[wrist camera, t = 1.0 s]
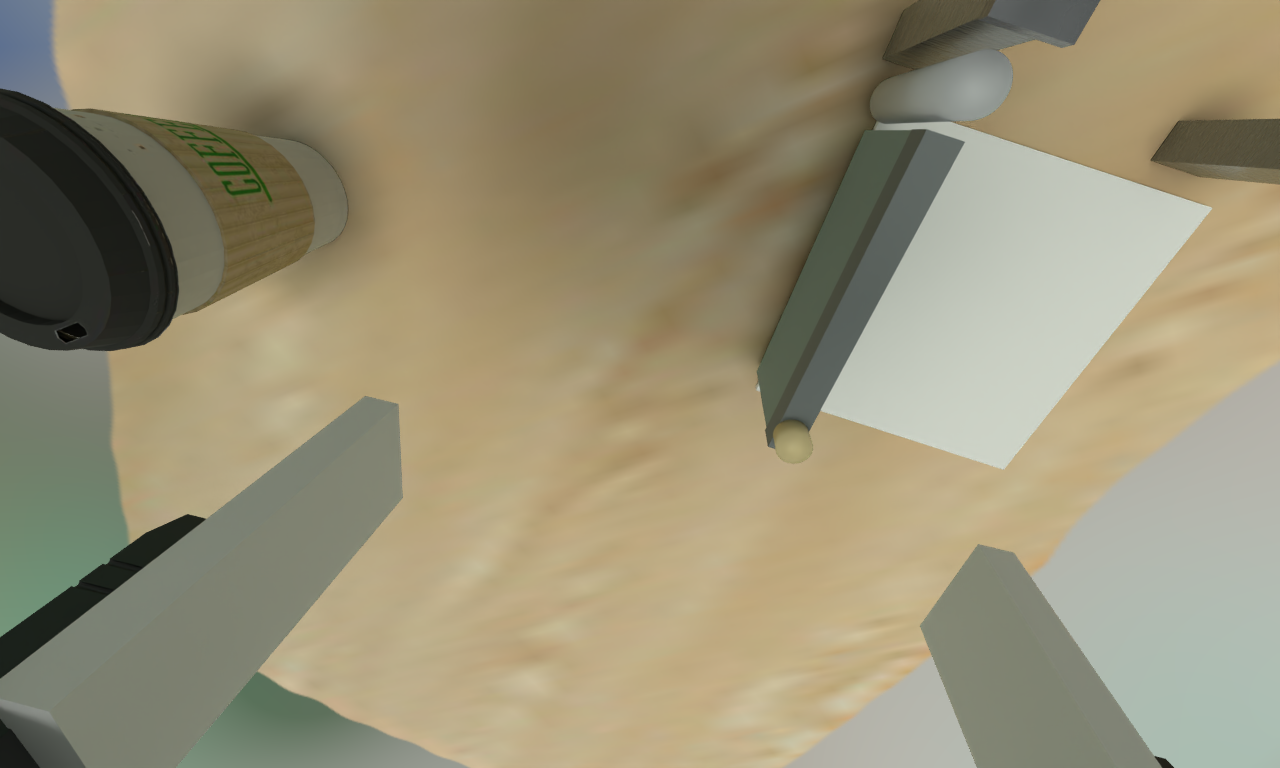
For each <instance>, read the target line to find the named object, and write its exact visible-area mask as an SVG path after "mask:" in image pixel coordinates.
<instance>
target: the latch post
mask: <svg viewBox="0 0 1280 768" xmlns="http://www.w3.org/2000/svg"><path fill="white" fill-rule="evenodd" d="M1151 161H1153V162H1157V163H1160V164H1163V165H1166V166H1169V167H1172V168H1175V169H1178V170H1181V171H1184V172H1187V173H1190V174H1193V175H1196V176H1199V177H1206V178H1217V179H1227V180H1238V181H1248V182H1259V183H1269V184H1280V119H1248V120H1201V121H1179V122H1178V123H1177V124H1176V126H1175V127H1174V129H1173V130H1172V131H1171V133H1170V134H1169V136H1168V137H1167V138H1166V140H1165V141H1164V143H1163V144H1162V146H1161V147H1160V148H1159V150H1158V151H1157V153H1156V154H1155V155H1154V157H1153V158H1152V160H1151Z"/></svg>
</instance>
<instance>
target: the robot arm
mask: <svg viewBox="0 0 1280 768" xmlns="http://www.w3.org/2000/svg"><path fill="white" fill-rule="evenodd" d="M402 498H403V494H402V472H401V450H400V428H399V406H398V404H396V403H392V402H388V401H384V400H380V399H376V398H372V397H367V396H365V397H363V398H362V399H361V400H360V401H358V402H357V403H356V404H354V405H353V406H352V407H351V408H349V409H348V410H347V411H345V412H344V413H343V414H342V415H340V416H339V417H338V418H336V419H335V420H334V421H332V422H331V423H330V424H329V425H327V426H326V427H325V428H323V429H322V430H321V431H320V432H318V433H317V434H316V435H314V436H313V437H312V438H311V439H309V440H308V441H307V442H305V443H304V444H303V445H302V446H300V447H299V448H298V449H296V450H295V451H294V452H292V453H291V454H290V455H289V456H287V457H286V458H285V459H283V460H282V461H281V462H280V463H278V464H277V465H276V466H274V467H273V468H272V469H271V470H269V471H268V472H267V473H265V474H264V475H263V476H261V477H260V478H259V479H258V480H256V481H255V482H254V483H252V484H251V485H250V486H249V487H247V488H246V489H245V490H243V491H242V492H241V493H240V494H238V495H237V496H236V497H234V498H233V499H232V500H231V501H229V502H228V503H227V504H225V505H224V506H223V507H221V508H220V509H219V510H218V511H216V512H215V513H214V514H212V515H211V516H210V517H209V518H207V519H205V518H201V517H197V516H193V515H189V514H187V515H185V516H182V517H180V518H178V519H176V520H173V521H171V522H169V523H167V524H165V525H162V526H160V527H158V528H156V529H153V530H151V531H149V532H147V533H145V534H144V535H142V536H141V537H140V538H138V539H137V540H135V541H134V542H133V543H131V544H130V545H128V546H127V547H126V548H124V549H123V550H121V551H120V552H119V553H117V554H116V555H114V556H113V557H112V558H110V561H109V563H108V564H106V565H105V564H102V565H100V566H99V567H98V568H96V569H95V570H93V571H92V572H91V573H90V574H88V575H87V576H85V577H84V578H82V579H81V580H80V581H79V584H78V585H77V586H75V587H72V586H71V587H70V588H68V589H67V590H66V591H64V592H63V593H61V594H60V595H59V596H58V597H56V598H54V599H53V600H52V601H50V602H49V603H47V604H46V605H45V606H43V607H42V608H41V609H39V610H38V611H36V612H35V613H33V614H32V615H31V616H29V617H28V618H27V619H25V620H24V621H22V622H21V623H20V624H18V625H17V626H15V627H14V628H13V629H11V630H10V631H9V632H7V633H6V634H4V635H3V636H1V637H0V768H176V766H177V765H178V764H179V763H180V762H181V761H182V760H183V758H184V757H185V756H186V755H187V754H188V752H189V751H190V750H191V749H192V748H193V747H194V745H195V744H196V743H197V742H198V741H199V739H200V738H201V737H202V736H203V735H204V733H205V732H206V731H207V730H208V729H209V728H210V726H211V725H212V724H213V723H214V721H215V720H216V719H217V718H218V717H219V716H220V714H221V713H222V712H223V711H224V710H225V708H226V707H227V706H228V705H229V703H230V702H231V701H232V700H233V699H234V698H235V697H236V695H237V694H238V693H239V692H240V691H241V689H242V688H243V687H244V686H245V685H246V684H247V682H248V681H249V680H250V679H251V677H252V676H253V675H254V674H255V673H256V672H257V670H258V669H259V668H260V667H261V666H262V664H263V663H264V662H265V661H266V660H267V659H268V657H269V656H270V655H271V654H272V653H273V651H274V650H275V649H276V648H277V647H278V645H279V644H280V643H281V642H282V641H283V639H284V638H285V637H286V636H287V635H288V634H289V632H290V631H291V630H292V629H293V628H294V626H295V625H296V624H297V623H298V622H299V620H300V619H301V618H302V617H303V616H304V615H305V613H306V612H307V611H308V610H309V609H310V607H311V606H312V605H313V604H314V603H315V601H316V600H317V599H318V598H319V597H320V595H321V594H322V593H323V592H324V591H325V590H326V588H327V587H328V586H329V585H330V584H331V582H332V581H333V580H334V579H335V578H336V576H337V575H338V574H339V573H340V572H341V571H342V569H343V568H344V567H345V566H346V565H347V563H348V562H349V561H350V560H351V559H352V557H353V556H354V555H355V554H356V553H357V551H358V550H359V549H360V548H361V547H362V546H363V544H364V543H365V542H366V541H367V540H368V538H369V537H370V536H371V535H372V534H373V532H374V531H375V530H376V529H377V528H378V527H379V525H380V524H381V523H382V522H383V521H384V519H385V518H386V517H387V516H388V515H389V513H390V512H391V511H392V510H393V509H394V507H395V506H396V505H397V504H398V503H399V502H400V500H401V499H402ZM920 627H921V630H922V632H923V635H924V637H925V640H926V642H927V645H928V647H929V650H930V652H931V655H932V657H933V660H934V662H935V665H936V667H937V669H938V672H939V674H940V677H941V679H942V682H943V684H944V687H945V689H946V692H947V694H948V697H949V699H950V702H951V704H952V707H953V709H954V712H955V714H956V717H957V719H958V722H959V724H960V727H961V729H962V732H963V734H964V737H965V739H966V742H967V744H968V746H969V749H970V752H971V754H972V756H973V759H974V761H975V764H976V766H977V768H1174V767H1173V766H1172V765H1171V764H1170V763H1169V762H1168V761H1167V760H1166V759H1164V758H1160V757H1156V756H1154V755H1153V754H1152V752H1151V751H1150V750H1149V748H1148V747H1147V745H1146V744H1145V742H1144V741H1143V740H1142V738H1141V736H1140V735H1139V734H1138V732H1137V731H1136V729H1135V728H1134V726H1133V725H1132V724H1131V722H1130V721H1129V719H1128V718H1127V716H1126V715H1125V713H1124V712H1123V711H1122V709H1121V707H1120V706H1119V705H1118V703H1117V702H1116V700H1115V699H1114V697H1113V696H1112V694H1111V693H1110V691H1109V690H1108V689H1107V687H1106V686H1105V684H1104V683H1103V681H1102V680H1101V679H1100V677H1099V676H1098V674H1097V673H1096V671H1095V670H1094V668H1093V667H1092V666H1091V664H1090V663H1089V661H1088V660H1087V658H1086V657H1085V655H1084V654H1083V653H1082V651H1081V650H1080V648H1079V647H1078V645H1077V644H1076V642H1075V641H1074V639H1073V638H1072V637H1071V635H1070V634H1069V632H1068V631H1067V629H1066V628H1065V626H1064V625H1063V623H1062V622H1061V621H1060V619H1059V617H1058V616H1057V615H1056V613H1055V612H1054V610H1053V609H1052V607H1051V606H1050V605H1049V603H1048V602H1047V600H1046V599H1045V597H1044V596H1043V594H1042V593H1041V591H1040V590H1039V589H1038V587H1037V586H1036V584H1035V583H1034V581H1033V580H1032V578H1031V577H1030V575H1029V574H1028V573H1027V571H1026V570H1025V568H1024V567H1023V565H1022V564H1021V562H1020V561H1019V559H1018V558H1017V557H1016V555H1015V554H1014V553H1013V552H1009V551H1004V550H1000V549H996V548H992V547H988V546H984V545H980V544H978V545H977V547H976V548H975V549H974V551H973V552H972V554H971V555H970V556H969V558H968V559H967V561H966V562H965V563H964V565H963V566H962V568H961V569H960V570H959V572H958V573H957V575H956V576H955V577H954V579H953V580H952V582H951V583H950V584H949V586H948V587H947V589H946V590H945V591H944V593H943V594H942V596H941V597H940V598H939V600H938V601H937V603H936V604H935V605H934V607H933V608H932V610H931V611H930V612H929V614H928V615H927V617H926V618H925V619H924V621H923V622H922V624H921V625H920Z"/></svg>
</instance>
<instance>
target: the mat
mask: <svg viewBox="0 0 1280 768" xmlns="http://www.w3.org/2000/svg"><path fill="white" fill-rule="evenodd" d="M912 129H928V130H931V131H934V132H937V133H940V134H943V135H946V136H949V137H952V138H955V139H958V140H961V141H964V142H965V143H964V145H963V147H962V149H961V150H960V152H959V154H958V156H957V158H956V160H955V162H954V163H953V165H952V167H951V169H950V171H949V173H948V174H947V176H946V178H945V180H944V182H943V184H942V186H941V187H940V189H939V191H938V193H937V195H936V197H935V199H934V200H933V202H932V204H931V206H930V208H929V210H928V212H927V213H926V215H925V217H924V219H923V221H922V223H921V225H920V226H919V228H918V230H917V232H916V234H915V236H914V238H913V239H912V241H911V243H910V245H909V247H908V249H907V251H906V252H905V254H904V256H903V258H902V260H901V262H900V264H899V265H898V267H897V269H896V271H895V273H894V275H893V277H892V278H891V280H890V282H889V284H888V286H887V288H886V290H885V291H884V293H883V295H882V297H881V299H880V301H879V302H878V304H877V306H876V308H875V310H874V312H873V314H872V315H871V317H870V319H869V321H868V323H867V325H866V327H865V328H864V330H863V332H862V334H861V336H860V338H859V340H858V341H857V343H856V345H855V347H854V349H853V351H852V353H851V354H850V356H849V358H848V360H847V362H846V364H845V366H844V367H843V369H842V371H841V373H840V375H839V377H838V379H837V380H836V382H835V384H834V386H833V388H832V390H831V392H830V393H829V395H828V397H827V399H826V401H825V403H824V405H823V406H822V408H821V410H820V411H822V412H826V413H829V414H832V415H835V416H838V417H841V418H844V419H847V420H851V421H854V422H857V423H860V424H863V425H866V426H869V427H872V428H875V429H879V430H882V431H885V432H888V433H891V434H894V435H897V436H900V437H903V438H907V439H910V440H913V441H916V442H919V443H922V444H925V445H928V446H932V447H935V448H938V449H941V450H944V451H947V452H950V453H953V454H956V455H960V456H963V457H966V458H969V459H972V460H975V461H978V462H981V463H985V464H988V465H991V466H994V467H997V468H1000V469H1003V470H1004V469H1005V467H1006V466H1007V465H1008V464H1009V462H1010V461H1011V460H1012V459H1013V457H1014V456H1015V455H1016V454H1017V452H1018V451H1019V450H1020V449H1021V447H1022V446H1023V445H1024V444H1025V442H1026V441H1027V440H1028V439H1029V437H1030V436H1031V435H1032V434H1033V432H1034V431H1035V430H1036V429H1037V427H1038V426H1039V425H1040V424H1041V422H1042V421H1043V420H1044V418H1045V417H1046V416H1047V415H1048V413H1049V412H1050V411H1051V410H1052V408H1053V407H1054V406H1055V405H1056V403H1057V402H1058V401H1059V400H1060V398H1061V397H1062V396H1063V395H1064V393H1065V392H1066V391H1067V390H1068V388H1069V387H1070V386H1071V385H1072V383H1073V382H1074V381H1075V380H1076V378H1077V377H1078V376H1079V375H1080V373H1081V372H1082V371H1083V370H1084V368H1085V367H1086V366H1087V365H1088V363H1089V362H1090V361H1091V360H1092V358H1093V357H1094V356H1095V355H1096V353H1097V352H1098V351H1099V350H1100V348H1101V347H1102V346H1103V345H1104V343H1105V342H1106V341H1107V340H1108V338H1109V337H1110V336H1111V335H1112V333H1113V332H1114V331H1115V330H1116V328H1117V327H1118V326H1119V325H1120V323H1121V322H1122V321H1123V320H1124V318H1125V317H1126V316H1127V315H1128V313H1129V312H1130V311H1131V309H1132V308H1133V307H1134V306H1135V304H1136V303H1137V302H1138V301H1139V299H1140V298H1141V297H1142V296H1143V294H1144V293H1145V292H1146V291H1147V289H1148V288H1149V287H1150V286H1151V284H1152V283H1153V282H1154V281H1155V279H1156V278H1157V277H1158V276H1159V274H1160V273H1161V272H1162V271H1163V269H1164V268H1165V267H1166V266H1167V264H1168V263H1169V262H1170V261H1171V259H1172V258H1173V257H1174V256H1175V254H1176V253H1177V252H1178V251H1179V249H1180V248H1181V247H1182V246H1183V244H1184V243H1185V242H1186V241H1187V239H1188V238H1189V237H1190V236H1191V234H1192V233H1193V232H1194V231H1195V229H1196V228H1197V227H1198V226H1199V224H1200V223H1201V222H1202V221H1203V219H1204V218H1205V217H1206V216H1207V214H1208V213H1209V212H1210V211H1211V209H1212V208H1211V207H1208V206H1205V205H1202V204H1199V203H1196V202H1193V201H1190V200H1187V199H1184V198H1181V197H1178V196H1174V195H1171V194H1168V193H1165V192H1162V191H1159V190H1156V189H1153V188H1150V187H1147V186H1144V185H1141V184H1138V183H1135V182H1132V181H1129V180H1126V179H1123V178H1120V177H1117V176H1114V175H1111V174H1108V173H1105V172H1101V171H1098V170H1095V169H1092V168H1089V167H1086V166H1083V165H1080V164H1077V163H1074V162H1071V161H1068V160H1065V159H1062V158H1059V157H1056V156H1053V155H1050V154H1047V153H1044V152H1041V151H1038V150H1035V149H1032V148H1028V147H1025V146H1022V145H1019V144H1016V143H1013V142H1010V141H1007V140H1004V139H1001V138H998V137H995V136H992V135H989V134H986V133H983V132H980V131H977V130H974V129H971V128H968V127H965V126H962V125H959V124H955V123H952V122H926V123H900V124H883V123H880V122H878V121H877V122H876V124H875V126H874V128H873V130H912ZM756 390H757V391H760V387H759V381H758V383H757V386H756Z"/></svg>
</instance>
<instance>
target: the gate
mask: <svg viewBox="0 0 1280 768" xmlns="http://www.w3.org/2000/svg"><path fill="white" fill-rule="evenodd" d="M1012 80H1013V70H1012V66H1011V63H1010V61H1009V59H1008V58H1007V57H1006V56H1005V55H1004V54H1003V53H1001V52H999V51H997V50H992V49H984V50H979V51H976V52H972V53H969V54H966V55H963V56H959V57H956V58H953V59H949V60H946V61H943V62H940V63H936V64H933V65H930V66H926V67H923V68H920V69H917V70H913V71H910V72H907V73H903V74H900V75H897V76H894V77H890V78H888V79H886V80H884V81H882V82H881V83H880V84H879V85H878V86H877V87H876V88H875V90H874V92H873V94H872V96H871V99H870V111H871V114H872V116H873V117H874V119H875V120H877V121H878V122H880V123H883V124H900V123H926V122H951V121H973V120H978V119H981V118H984V117H986V116H988V115H989V114H991V113H992V112H994V111H995V110H996V109H997V108H998V107H999V106H1000V105H1001V104H1002V103H1003V101H1004V100H1005V98H1006V97H1007V95H1008V93H1009V91H1010V88H1011V85H1012ZM964 143H965V142H964V141H961V140H958V139H955V138H952V137H949V136H946V135H943V134H940V133H937V132H934V131H931V130H928V129H912V130H865V131H864V134H863V136H862V138H861V140H860V143H859V145H858V147H857V149H856V152H855V154H854V156H853V158H852V160H851V163H850V165H849V167H848V169H847V172H846V174H845V176H844V178H843V181H842V183H841V185H840V187H839V189H838V192H837V194H836V196H835V198H834V201H833V203H832V205H831V207H830V210H829V212H828V214H827V216H826V218H825V221H824V223H823V225H822V227H821V230H820V232H819V234H818V236H817V239H816V241H815V243H814V245H813V247H812V250H811V252H810V254H809V256H808V259H807V261H806V263H805V265H804V268H803V270H802V272H801V274H800V276H799V279H798V281H797V283H796V285H795V288H794V290H793V292H792V294H791V297H790V299H789V301H788V303H787V305H786V308H785V310H784V312H783V314H782V317H781V319H780V321H779V323H778V326H777V328H776V330H775V332H774V334H773V337H772V339H771V341H770V343H769V346H768V348H767V350H766V352H765V355H764V357H763V359H762V361H761V364H760V366H759V368H758V370H757V375H758V381H759V387H760V392H761V398H762V404H763V410H764V415H765V421H766V429H765V432H766V438H767V443H768V447H771V448H774V449H776V453H777V455H778V457H779V458H780V459H781V460H783V461H784V462H787V463H792V464H795V463H800V462H803V461H805V460H807V459H808V458H809V457H810V455H811V454H812V451H813V444H812V441H811V438H810V434H809V431H810V429H811V427H812V425H813V423H814V421H815V419H816V418H817V416H818V414H819V412H820V410H821V408H822V406H823V405H824V403H825V401H826V399H827V397H828V395H829V393H830V392H831V390H832V388H833V386H834V384H835V382H836V380H837V379H838V377H839V375H840V373H841V371H842V369H843V367H844V366H845V364H846V362H847V360H848V358H849V356H850V354H851V353H852V351H853V349H854V347H855V345H856V343H857V341H858V340H859V338H860V336H861V334H862V332H863V330H864V328H865V327H866V325H867V323H868V321H869V319H870V317H871V315H872V314H873V312H874V310H875V308H876V306H877V304H878V302H879V301H880V299H881V297H882V295H883V293H884V291H885V290H886V288H887V286H888V284H889V282H890V280H891V278H892V277H893V275H894V273H895V271H896V269H897V267H898V265H899V264H900V262H901V260H902V258H903V256H904V254H905V252H906V251H907V249H908V247H909V245H910V243H911V241H912V239H913V238H914V236H915V234H916V232H917V230H918V228H919V226H920V225H921V223H922V221H923V219H924V217H925V215H926V213H927V212H928V210H929V208H930V206H931V204H932V202H933V200H934V199H935V197H936V195H937V193H938V191H939V189H940V187H941V186H942V184H943V182H944V180H945V178H946V176H947V174H948V173H949V171H950V169H951V167H952V165H953V163H954V162H955V160H956V158H957V156H958V154H959V152H960V150H961V149H962V147H963V145H964Z"/></svg>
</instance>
